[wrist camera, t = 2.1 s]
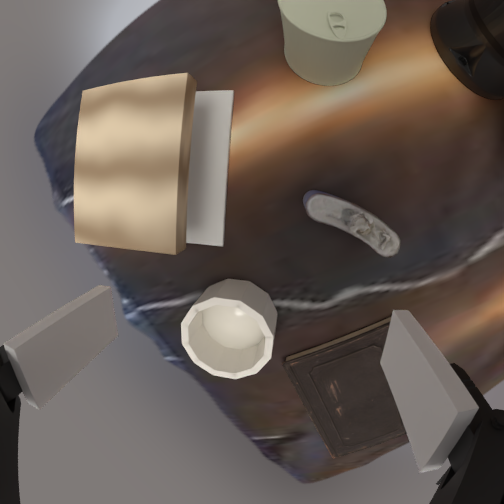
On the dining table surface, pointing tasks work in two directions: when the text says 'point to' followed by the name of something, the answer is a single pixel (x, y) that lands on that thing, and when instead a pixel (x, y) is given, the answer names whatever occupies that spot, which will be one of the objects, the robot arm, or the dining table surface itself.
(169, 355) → the dining table surface
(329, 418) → the hardcover book
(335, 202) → the flask
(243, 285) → the bowl
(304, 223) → the dining table surface
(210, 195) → the stand
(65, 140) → the dining table surface
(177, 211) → the wavy beige panel
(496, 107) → the dining table surface
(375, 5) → the can
